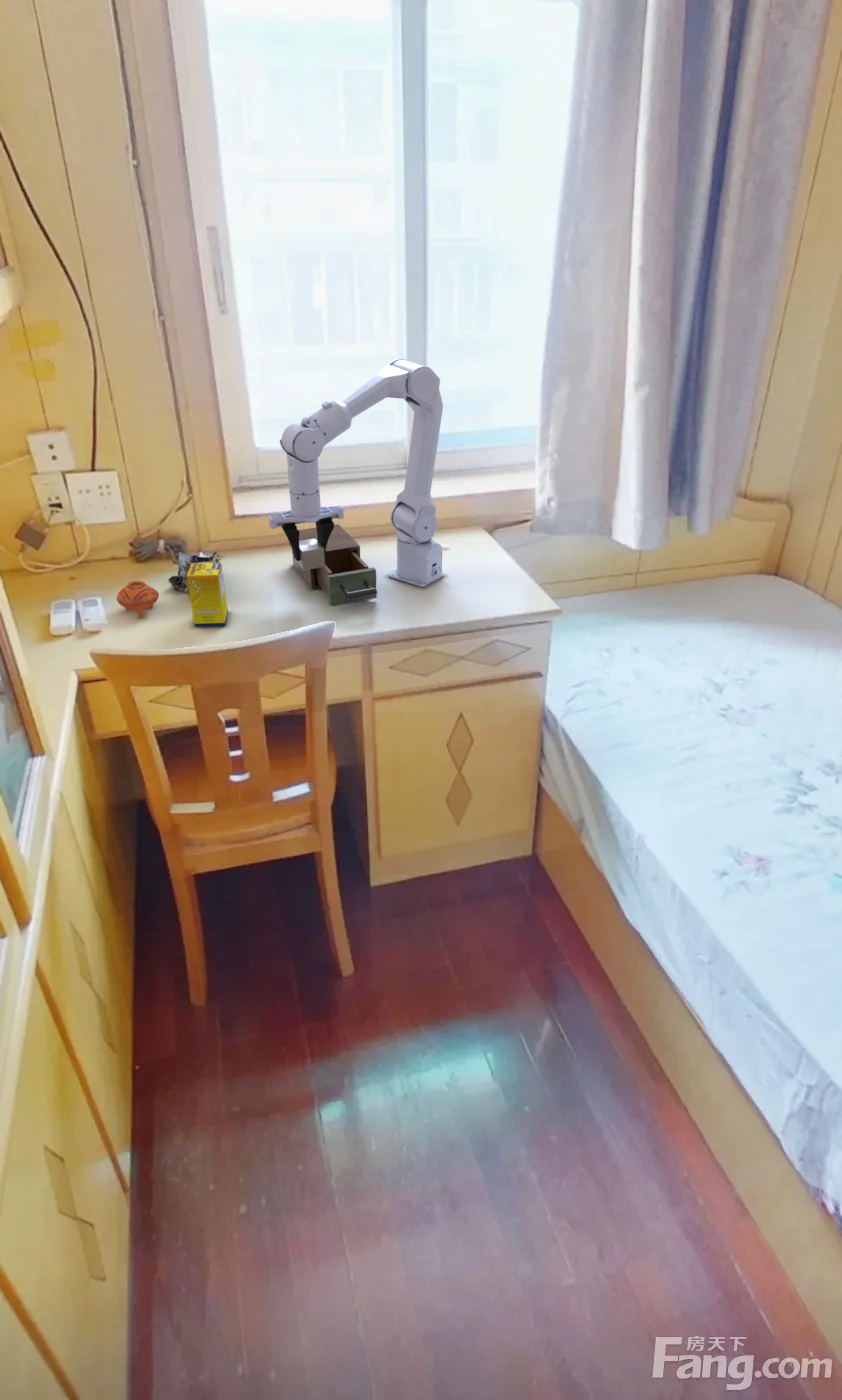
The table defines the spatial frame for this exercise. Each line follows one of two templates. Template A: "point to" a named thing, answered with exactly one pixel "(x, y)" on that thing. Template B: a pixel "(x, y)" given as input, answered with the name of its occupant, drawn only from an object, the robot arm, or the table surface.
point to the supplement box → (207, 594)
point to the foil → (184, 565)
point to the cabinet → (335, 544)
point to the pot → (137, 597)
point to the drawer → (346, 578)
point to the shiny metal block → (311, 554)
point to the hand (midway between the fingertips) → (309, 557)
